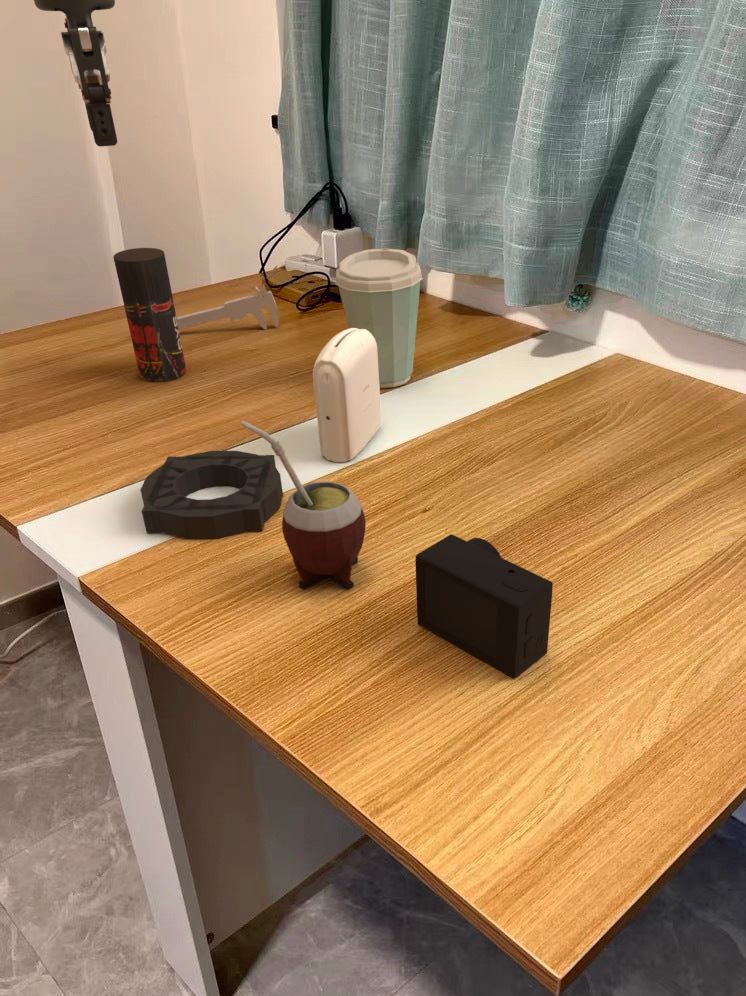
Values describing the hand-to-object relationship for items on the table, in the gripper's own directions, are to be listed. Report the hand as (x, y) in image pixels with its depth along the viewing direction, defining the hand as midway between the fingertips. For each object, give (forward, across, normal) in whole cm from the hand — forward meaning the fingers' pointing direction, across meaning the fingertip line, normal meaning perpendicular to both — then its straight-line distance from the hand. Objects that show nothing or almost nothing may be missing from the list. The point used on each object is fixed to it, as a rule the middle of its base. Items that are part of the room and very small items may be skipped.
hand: (104, 138), depth 94 cm
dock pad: (+29, +31, +2) cm, 42 cm away
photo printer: (+29, +23, +19) cm, 41 cm away
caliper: (+29, -19, +9) cm, 36 cm away
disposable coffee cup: (+29, +7, +28) cm, 40 cm away
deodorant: (+29, -6, +1) cm, 29 cm away
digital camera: (+29, +60, +20) cm, 69 cm away
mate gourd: (+29, +47, +9) cm, 56 cm away
